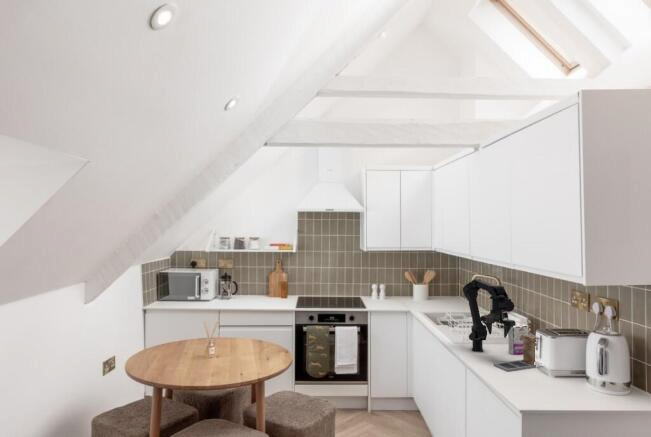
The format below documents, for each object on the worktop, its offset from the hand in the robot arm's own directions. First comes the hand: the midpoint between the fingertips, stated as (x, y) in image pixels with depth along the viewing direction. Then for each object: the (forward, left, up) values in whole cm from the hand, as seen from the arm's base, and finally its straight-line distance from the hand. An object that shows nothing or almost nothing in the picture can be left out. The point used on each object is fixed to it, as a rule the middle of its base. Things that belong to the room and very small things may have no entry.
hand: (497, 336), depth 238 cm
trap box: (+10, +10, -13) cm, 19 cm away
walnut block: (+5, +16, -13) cm, 21 cm away
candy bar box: (-16, +13, -13) cm, 25 cm away
